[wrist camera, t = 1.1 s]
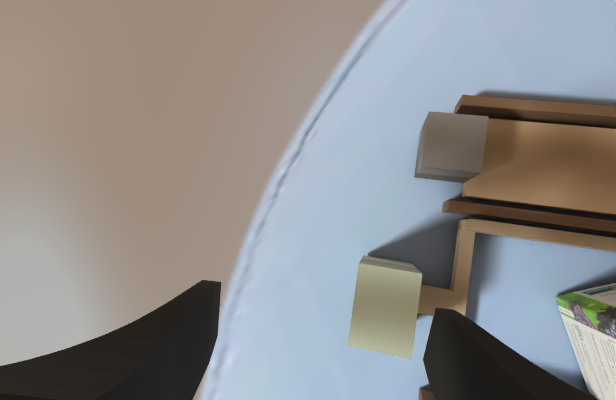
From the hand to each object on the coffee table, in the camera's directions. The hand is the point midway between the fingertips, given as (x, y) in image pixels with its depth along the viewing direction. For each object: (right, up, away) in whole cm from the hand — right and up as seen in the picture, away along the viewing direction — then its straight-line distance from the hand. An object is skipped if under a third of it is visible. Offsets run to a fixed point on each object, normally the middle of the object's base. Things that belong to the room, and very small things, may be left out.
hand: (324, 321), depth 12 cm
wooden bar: (+15, +6, +10) cm, 19 cm away
